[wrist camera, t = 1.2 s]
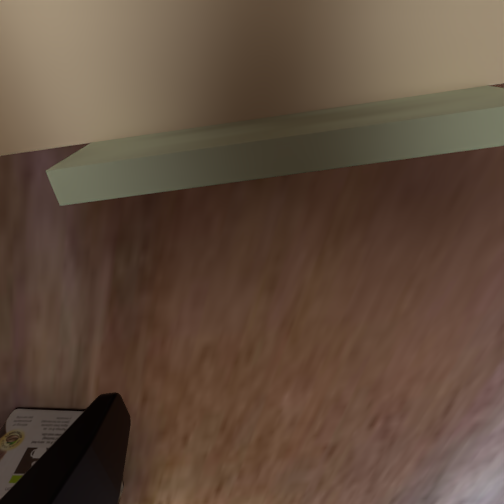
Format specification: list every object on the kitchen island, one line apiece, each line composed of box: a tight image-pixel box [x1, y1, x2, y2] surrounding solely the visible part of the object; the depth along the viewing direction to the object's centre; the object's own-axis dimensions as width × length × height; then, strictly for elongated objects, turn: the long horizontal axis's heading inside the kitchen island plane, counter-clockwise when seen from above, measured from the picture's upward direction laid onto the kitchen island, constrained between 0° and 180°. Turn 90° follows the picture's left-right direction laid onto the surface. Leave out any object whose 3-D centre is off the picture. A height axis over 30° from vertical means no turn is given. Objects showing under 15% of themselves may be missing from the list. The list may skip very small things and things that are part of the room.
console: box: [0, 0, 504, 206], centre depth 9 cm, size 14×6×10 cm, turn 98°
